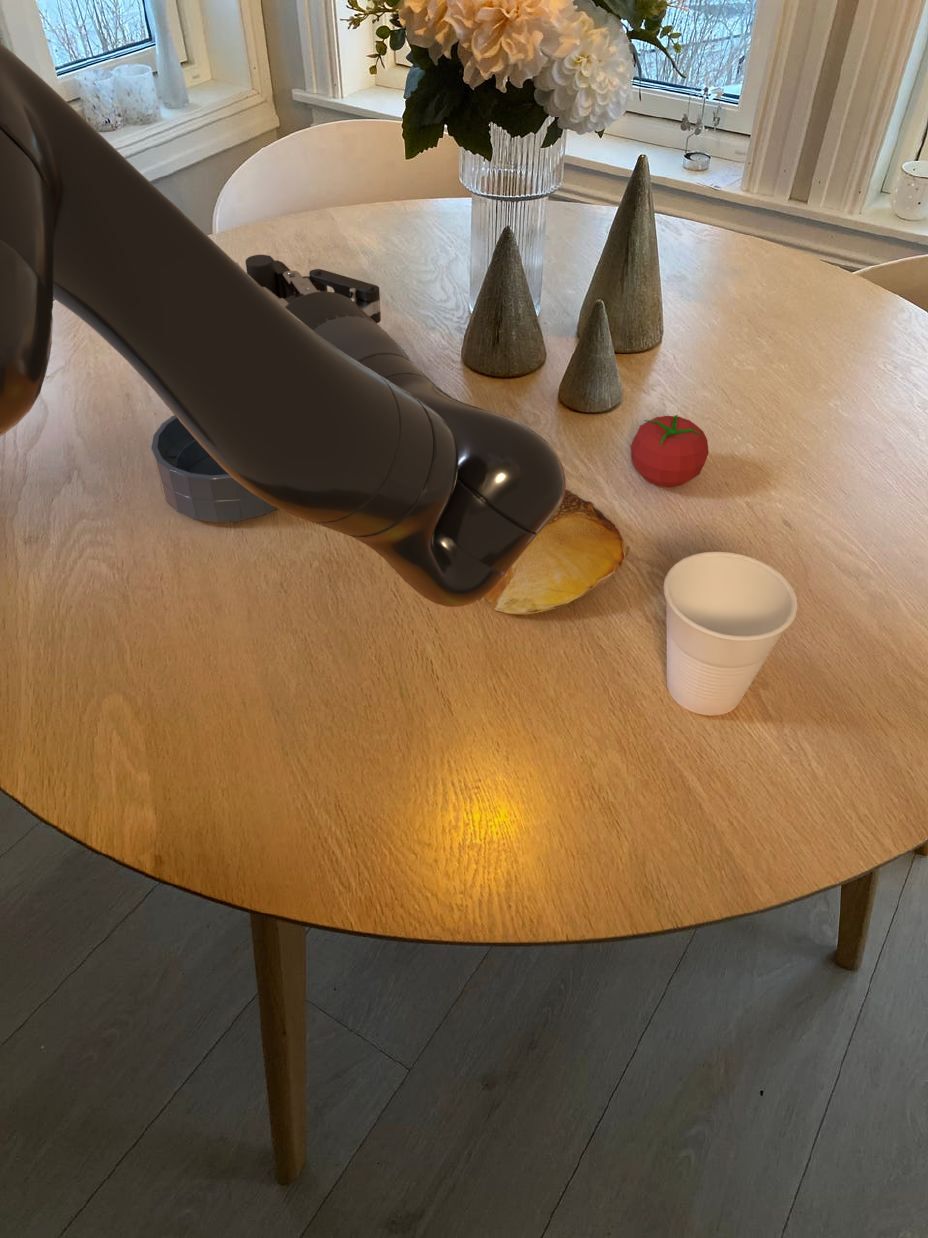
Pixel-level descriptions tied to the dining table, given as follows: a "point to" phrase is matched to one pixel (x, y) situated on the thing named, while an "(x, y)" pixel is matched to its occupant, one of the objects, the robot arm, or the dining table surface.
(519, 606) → the seashell
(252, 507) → the bowl
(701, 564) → the cup
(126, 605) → the dining table surface
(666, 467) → the tomato
